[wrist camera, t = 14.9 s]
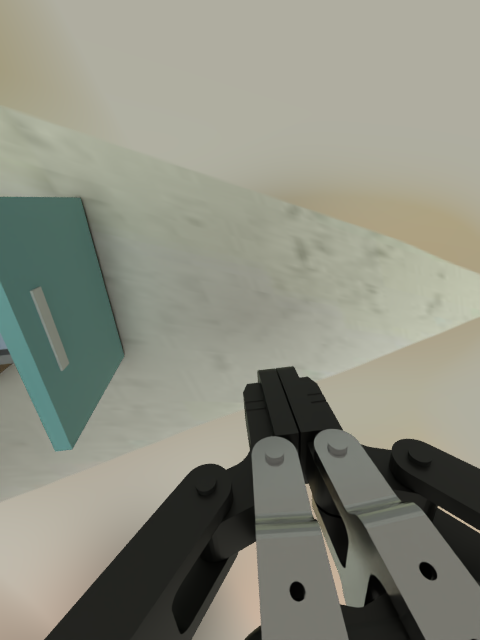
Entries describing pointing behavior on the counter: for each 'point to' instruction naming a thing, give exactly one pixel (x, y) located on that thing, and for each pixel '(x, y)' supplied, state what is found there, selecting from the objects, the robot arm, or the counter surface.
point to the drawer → (55, 312)
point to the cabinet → (4, 367)
